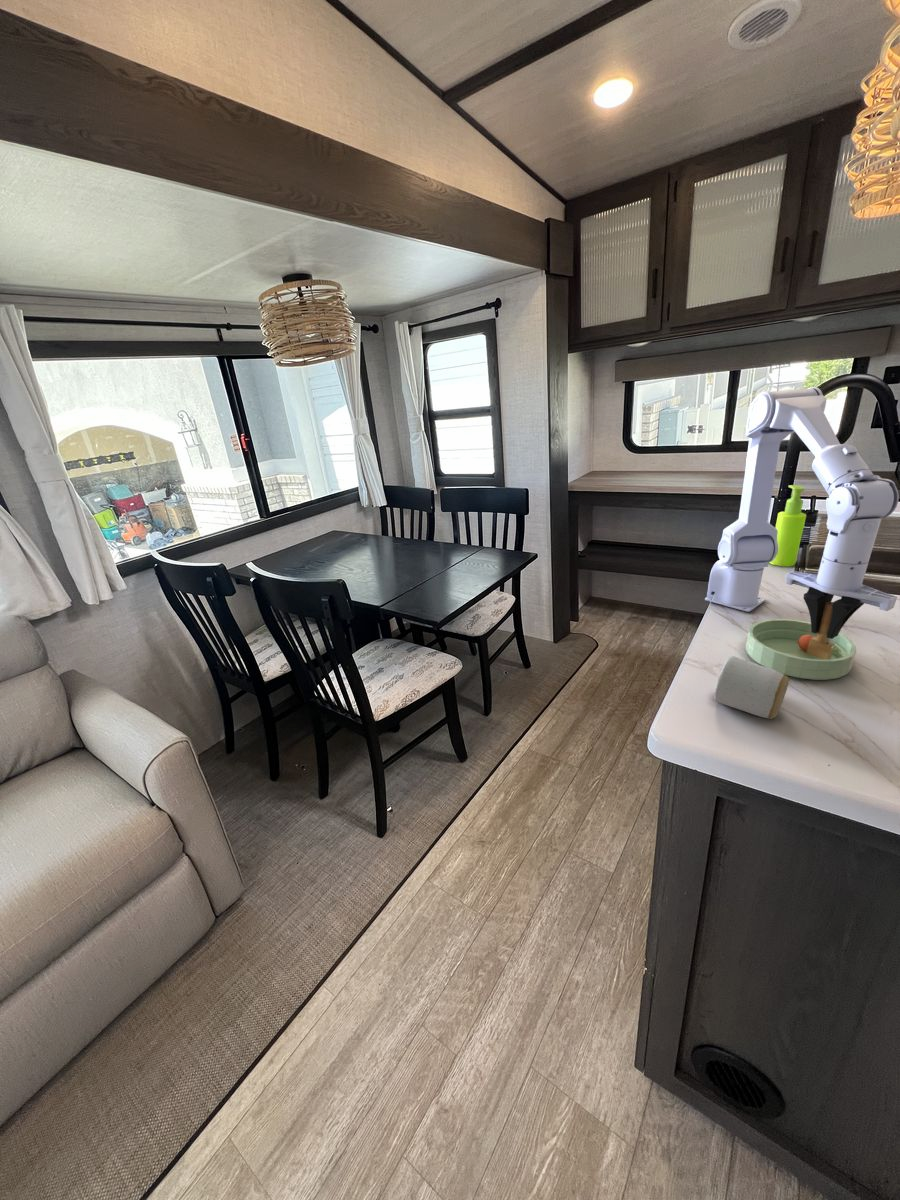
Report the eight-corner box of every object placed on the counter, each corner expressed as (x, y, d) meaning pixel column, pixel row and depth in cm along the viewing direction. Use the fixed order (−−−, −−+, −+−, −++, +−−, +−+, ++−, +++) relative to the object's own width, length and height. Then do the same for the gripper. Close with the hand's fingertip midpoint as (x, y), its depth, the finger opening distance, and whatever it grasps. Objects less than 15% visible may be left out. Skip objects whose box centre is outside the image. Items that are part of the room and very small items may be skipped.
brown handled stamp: (805, 653, 82) (818, 602, 78) (810, 650, 83) (824, 599, 79) (826, 661, 79) (840, 608, 75) (831, 658, 80) (846, 605, 76)
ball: (794, 650, 84) (796, 633, 84) (800, 650, 86) (801, 634, 86) (815, 652, 81) (816, 635, 81) (820, 652, 83) (821, 636, 83)
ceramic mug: (772, 731, 67) (783, 686, 64) (710, 709, 72) (718, 667, 69) (787, 696, 74) (798, 654, 71) (730, 679, 79) (738, 639, 76)
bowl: (730, 658, 85) (733, 638, 83) (765, 629, 93) (769, 611, 91) (831, 693, 73) (838, 672, 72) (862, 657, 81) (868, 637, 80)
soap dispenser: (790, 558, 126) (806, 483, 118) (798, 566, 120) (816, 488, 112) (764, 557, 128) (779, 483, 120) (771, 566, 122) (787, 489, 114)
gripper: (916, 564, 69) (889, 643, 75) (808, 542, 81) (791, 612, 87) (893, 575, 66) (866, 657, 72) (785, 551, 78) (769, 623, 84)
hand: (824, 633), depth 79 cm, fingers closed on brown handled stamp, 2 cm apart
